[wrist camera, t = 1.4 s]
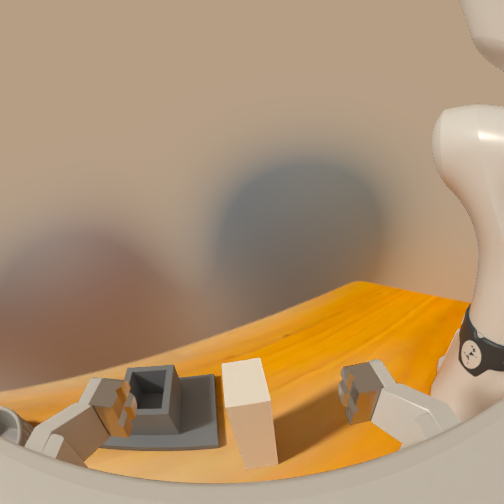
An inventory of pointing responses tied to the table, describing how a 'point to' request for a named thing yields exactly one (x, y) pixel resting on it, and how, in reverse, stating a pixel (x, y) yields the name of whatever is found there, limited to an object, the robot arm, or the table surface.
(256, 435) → the tall cream pillar block
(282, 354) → the table surface
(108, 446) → the socket holder
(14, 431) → the dog bowl
